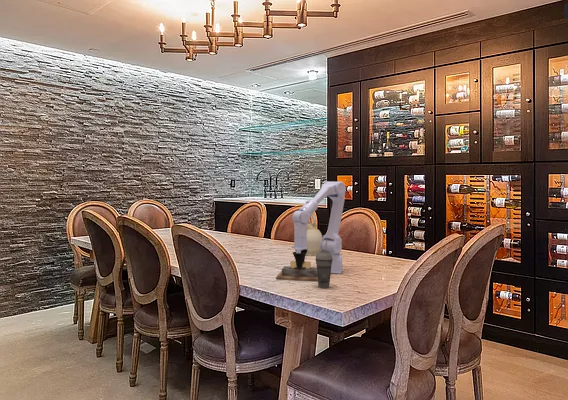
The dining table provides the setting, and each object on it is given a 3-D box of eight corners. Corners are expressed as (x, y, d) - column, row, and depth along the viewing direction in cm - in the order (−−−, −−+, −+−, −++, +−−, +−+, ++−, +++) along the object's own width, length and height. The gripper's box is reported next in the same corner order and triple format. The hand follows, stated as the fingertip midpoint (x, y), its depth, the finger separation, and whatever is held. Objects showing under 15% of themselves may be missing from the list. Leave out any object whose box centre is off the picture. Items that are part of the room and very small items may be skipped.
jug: (309, 251, 271) (310, 211, 270) (327, 254, 260) (328, 213, 258) (291, 253, 262) (292, 212, 260) (309, 257, 250) (309, 214, 249)
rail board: (323, 274, 202) (323, 266, 202) (320, 281, 188) (320, 272, 188) (281, 272, 205) (281, 264, 205) (275, 279, 191) (276, 270, 191)
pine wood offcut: (310, 274, 197) (310, 261, 197) (309, 276, 194) (310, 262, 194) (291, 273, 199) (291, 260, 199) (290, 275, 196) (290, 262, 196)
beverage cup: (321, 283, 184) (322, 237, 183) (335, 286, 179) (336, 239, 178) (311, 286, 178) (312, 239, 177) (326, 289, 174) (326, 240, 173)
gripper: (294, 234, 204) (293, 263, 204) (289, 238, 189) (289, 269, 190) (308, 235, 202) (308, 263, 203) (305, 239, 188) (305, 269, 189)
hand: (300, 266), depth 196 cm, fingers open, 6 cm apart
